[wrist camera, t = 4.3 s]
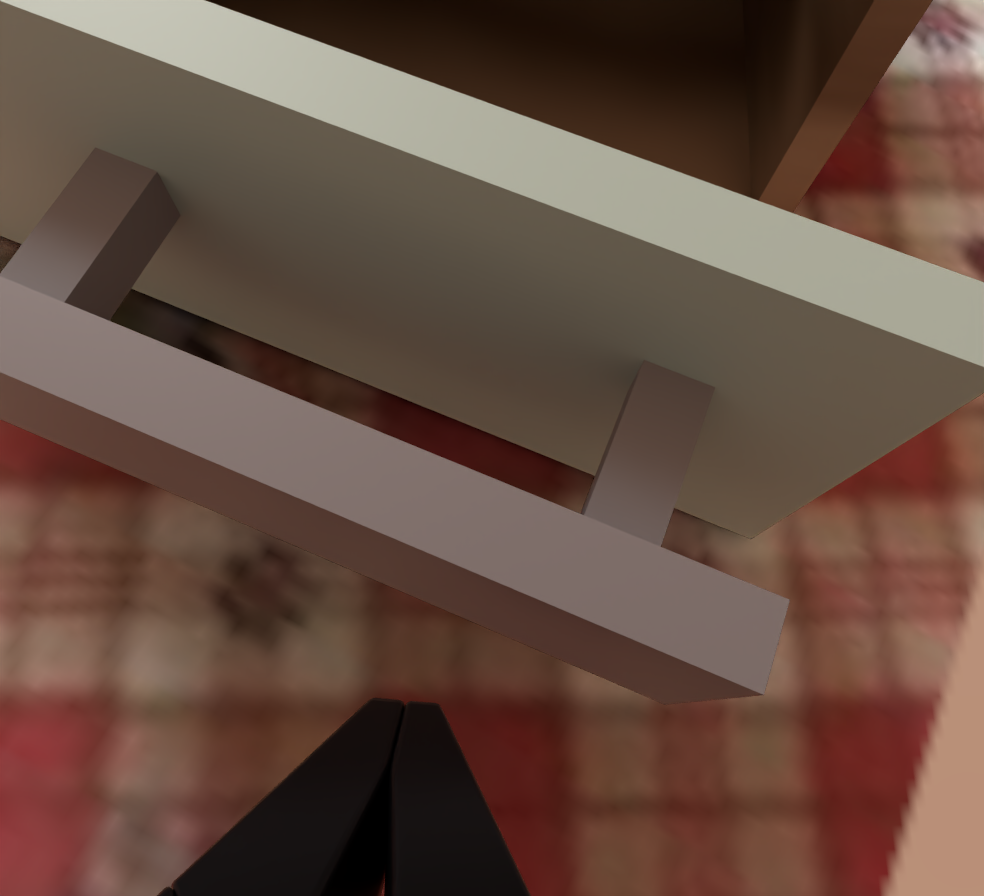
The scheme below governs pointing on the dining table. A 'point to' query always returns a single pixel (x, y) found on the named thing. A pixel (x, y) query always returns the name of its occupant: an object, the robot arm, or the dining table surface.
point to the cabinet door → (446, 328)
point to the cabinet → (643, 71)
